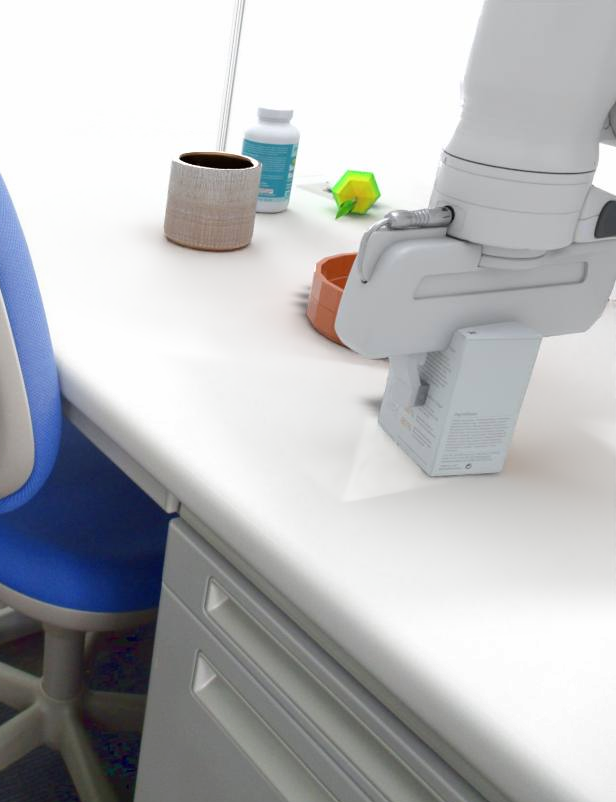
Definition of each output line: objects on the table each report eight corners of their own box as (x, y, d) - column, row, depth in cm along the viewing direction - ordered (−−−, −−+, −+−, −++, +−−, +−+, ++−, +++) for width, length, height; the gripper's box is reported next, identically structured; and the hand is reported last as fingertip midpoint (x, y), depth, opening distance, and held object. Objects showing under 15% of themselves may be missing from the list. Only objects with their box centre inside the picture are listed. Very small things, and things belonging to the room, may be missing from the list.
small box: (501, 475, 61) (547, 336, 56) (427, 479, 60) (467, 338, 55) (441, 420, 68) (477, 292, 63) (374, 422, 67) (405, 292, 62)
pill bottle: (294, 215, 119) (311, 112, 113) (241, 213, 118) (256, 110, 112) (279, 201, 126) (294, 103, 119) (228, 199, 125) (242, 101, 119)
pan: (403, 292, 93) (414, 247, 91) (519, 353, 80) (536, 302, 78) (274, 305, 88) (282, 257, 86) (375, 373, 75) (388, 319, 72)
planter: (155, 225, 111) (163, 148, 107) (238, 227, 113) (249, 151, 108) (172, 251, 102) (181, 169, 97) (262, 253, 103) (275, 172, 99)
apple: (359, 154, 121) (362, 166, 113) (389, 188, 122) (393, 202, 114) (318, 189, 125) (318, 203, 117) (347, 221, 126) (349, 238, 118)
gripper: (404, 227, 49) (355, 438, 56) (661, 209, 56) (591, 400, 62) (337, 198, 54) (300, 394, 61) (580, 185, 61) (523, 363, 68)
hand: (449, 397), depth 62 cm, fingers closed on small box, 6 cm apart
